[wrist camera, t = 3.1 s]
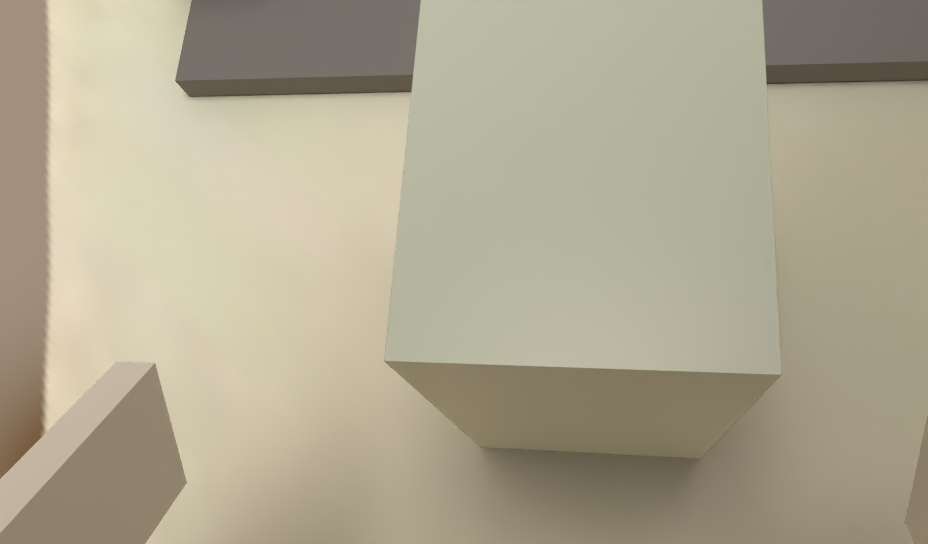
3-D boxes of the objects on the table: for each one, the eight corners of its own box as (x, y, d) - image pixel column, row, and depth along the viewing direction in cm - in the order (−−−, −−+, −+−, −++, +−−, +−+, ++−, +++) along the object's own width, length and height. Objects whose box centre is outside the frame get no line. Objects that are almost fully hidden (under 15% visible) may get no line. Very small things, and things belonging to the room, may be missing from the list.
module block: (695, 209, 25) (760, -40, 14) (700, 458, 22) (781, 374, 12) (495, 208, 26) (423, -24, 15) (480, 447, 23) (384, 360, 13)
